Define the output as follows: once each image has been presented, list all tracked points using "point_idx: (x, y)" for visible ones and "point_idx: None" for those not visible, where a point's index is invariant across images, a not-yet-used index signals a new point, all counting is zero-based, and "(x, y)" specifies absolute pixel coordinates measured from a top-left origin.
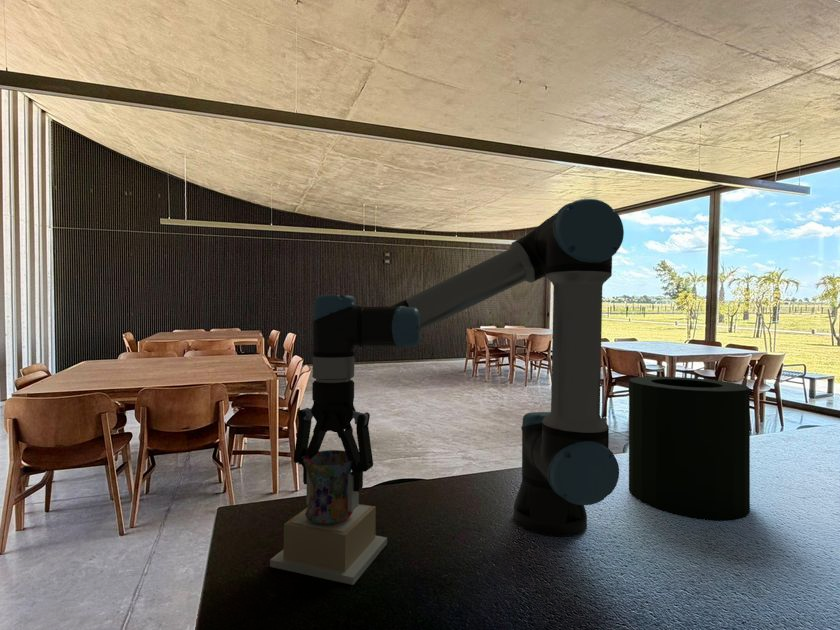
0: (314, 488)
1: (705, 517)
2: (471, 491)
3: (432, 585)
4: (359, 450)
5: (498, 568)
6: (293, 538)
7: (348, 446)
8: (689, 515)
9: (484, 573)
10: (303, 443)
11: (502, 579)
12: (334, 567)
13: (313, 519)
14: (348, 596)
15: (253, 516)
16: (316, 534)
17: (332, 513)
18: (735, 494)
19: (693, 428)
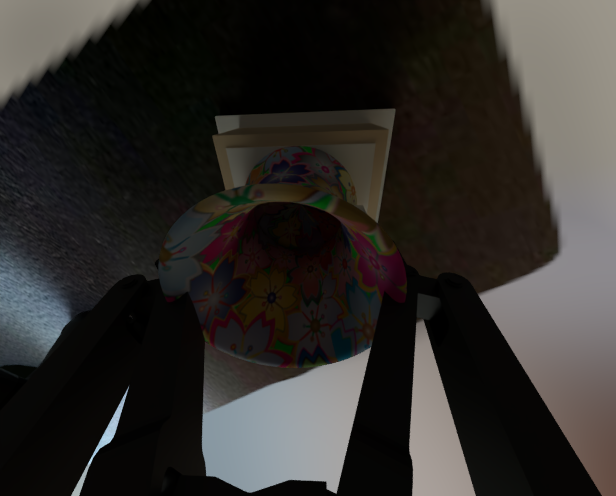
0: (312, 186)
1: (8, 367)
2: (230, 366)
3: (121, 165)
4: (92, 347)
5: (86, 234)
6: (354, 127)
7: (146, 363)
8: (22, 367)
9: (90, 218)
10: (461, 362)
11: (63, 213)
12: (259, 127)
13: (306, 148)
14: (204, 78)
15: (498, 247)
16: (292, 131)
17: (259, 171)
18: None
19: None
